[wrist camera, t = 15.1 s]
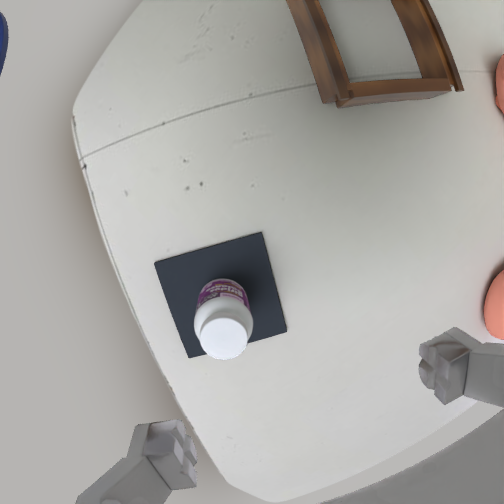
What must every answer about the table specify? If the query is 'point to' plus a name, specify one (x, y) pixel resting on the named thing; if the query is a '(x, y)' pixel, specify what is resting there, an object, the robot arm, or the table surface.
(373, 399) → the table surface
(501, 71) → the teapot
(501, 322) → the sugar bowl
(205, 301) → the pill bottle
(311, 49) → the wooden square frame
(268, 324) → the coaster
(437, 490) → the robot arm
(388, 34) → the table surface
